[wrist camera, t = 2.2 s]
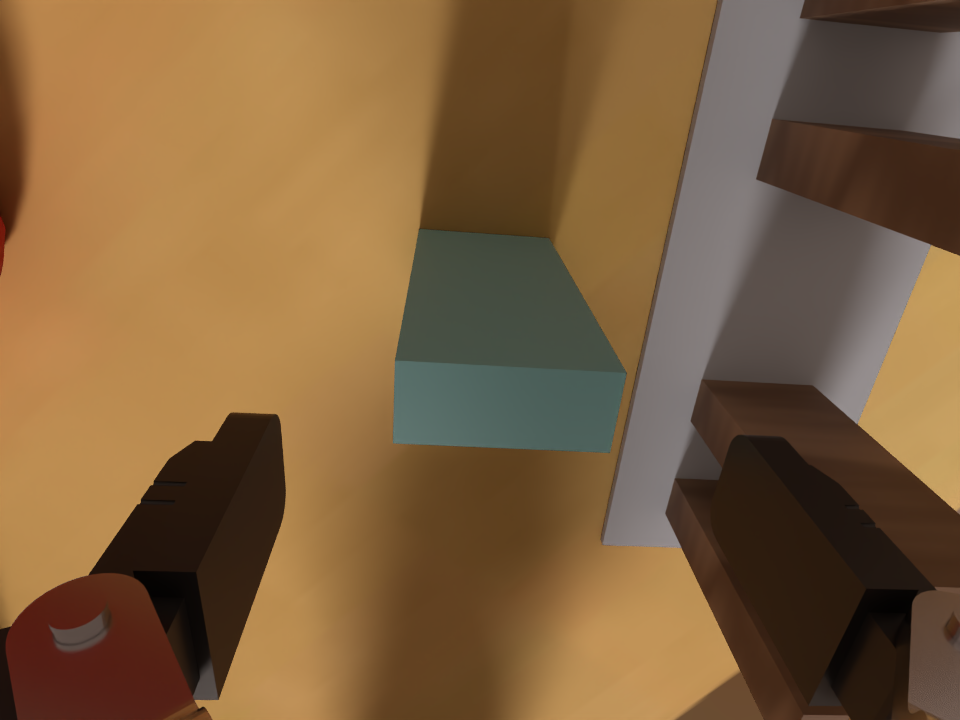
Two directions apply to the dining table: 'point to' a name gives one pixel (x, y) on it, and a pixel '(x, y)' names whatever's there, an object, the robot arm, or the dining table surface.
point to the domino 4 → (736, 608)
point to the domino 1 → (501, 350)
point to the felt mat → (773, 240)
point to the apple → (2, 243)
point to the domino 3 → (838, 464)
